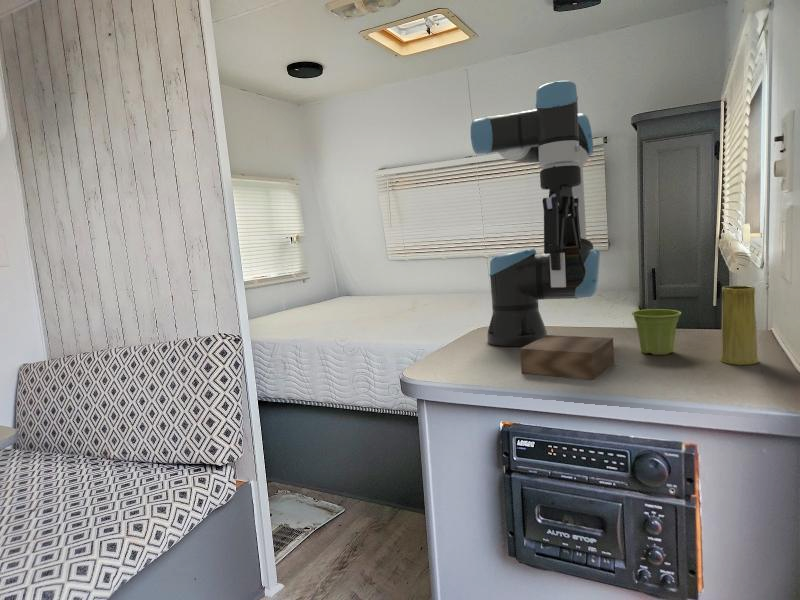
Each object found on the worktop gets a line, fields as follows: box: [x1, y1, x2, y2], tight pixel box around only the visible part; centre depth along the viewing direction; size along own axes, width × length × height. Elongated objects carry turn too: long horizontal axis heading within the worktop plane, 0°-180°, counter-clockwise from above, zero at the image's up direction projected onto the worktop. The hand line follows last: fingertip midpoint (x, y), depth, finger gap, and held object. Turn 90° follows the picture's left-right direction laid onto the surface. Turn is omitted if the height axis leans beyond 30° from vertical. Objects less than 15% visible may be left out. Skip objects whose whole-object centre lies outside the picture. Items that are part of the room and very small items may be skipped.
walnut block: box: [519, 334, 615, 380], centre depth 105 cm, size 14×14×5 cm
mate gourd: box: [547, 244, 586, 289], centre depth 103 cm, size 7×8×10 cm
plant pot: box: [631, 308, 682, 356], centre depth 111 cm, size 9×9×9 cm
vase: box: [719, 285, 759, 366], centre depth 99 cm, size 6×6×14 cm
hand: (565, 284), depth 103 cm, fingers closed on mate gourd, 7 cm apart
